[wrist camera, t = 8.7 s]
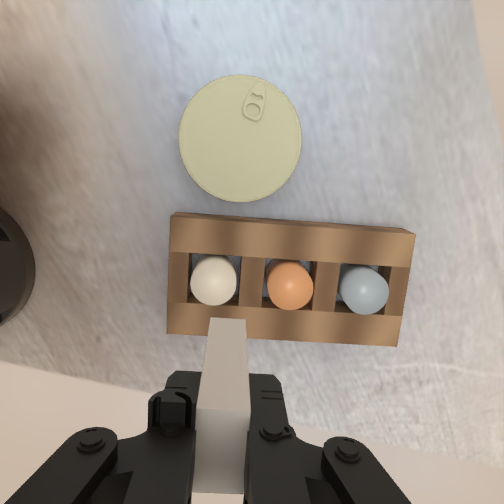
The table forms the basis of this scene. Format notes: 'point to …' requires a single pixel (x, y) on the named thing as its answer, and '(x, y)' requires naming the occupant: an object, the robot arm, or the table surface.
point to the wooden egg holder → (294, 248)
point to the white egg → (214, 279)
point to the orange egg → (288, 284)
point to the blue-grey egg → (362, 288)
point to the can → (240, 138)
